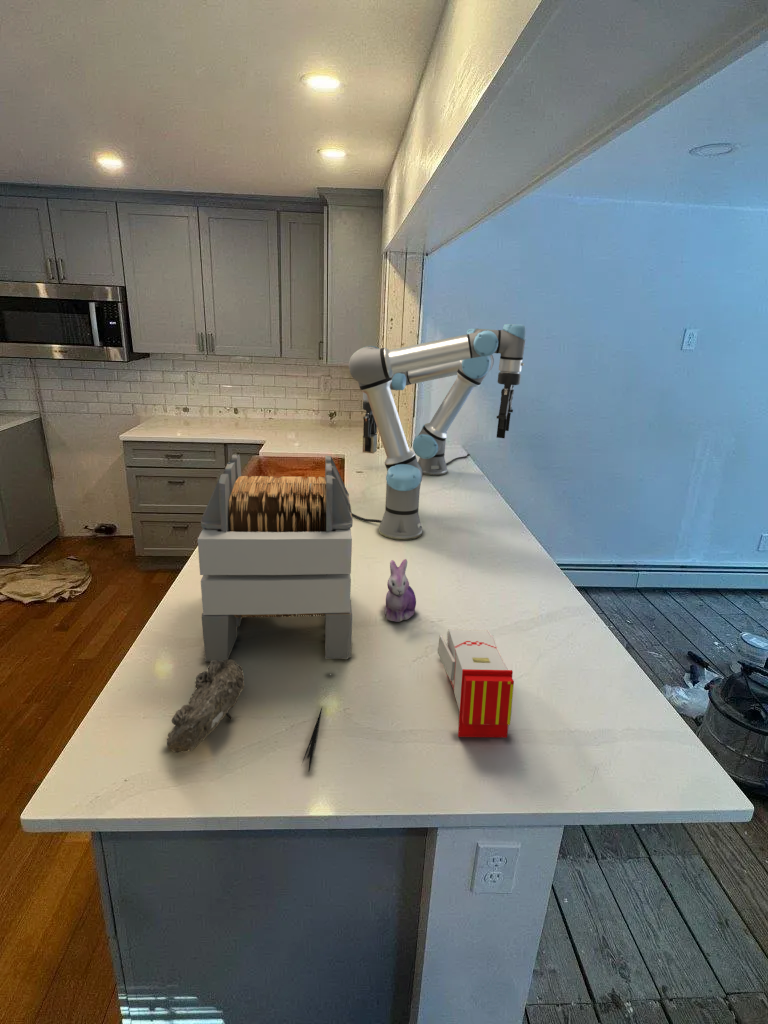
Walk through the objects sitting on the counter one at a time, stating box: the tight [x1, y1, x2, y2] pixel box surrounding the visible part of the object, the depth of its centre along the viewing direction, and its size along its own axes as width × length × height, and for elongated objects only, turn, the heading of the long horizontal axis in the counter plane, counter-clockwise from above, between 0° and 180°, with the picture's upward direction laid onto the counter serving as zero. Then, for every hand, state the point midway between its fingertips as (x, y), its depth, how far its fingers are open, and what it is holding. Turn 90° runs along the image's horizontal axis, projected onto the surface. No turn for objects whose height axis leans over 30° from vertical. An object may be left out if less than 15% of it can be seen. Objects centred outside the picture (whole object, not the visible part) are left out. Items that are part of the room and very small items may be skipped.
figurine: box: [384, 558, 417, 623], centre depth 145 cm, size 9×10×15 cm
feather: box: [301, 673, 332, 771], centre depth 108 cm, size 2×28×2 cm
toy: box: [437, 628, 515, 738], centre depth 117 cm, size 12×13×30 cm
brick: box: [362, 434, 378, 454], centre depth 269 cm, size 5×5×8 cm
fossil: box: [166, 658, 245, 754], centre depth 106 cm, size 22×10×15 cm
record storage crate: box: [197, 454, 354, 663], centre depth 134 cm, size 34×33×41 cm
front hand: (502, 434), depth 199 cm, fingers open, 13 cm apart
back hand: (369, 450), depth 270 cm, fingers closed on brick, 5 cm apart
